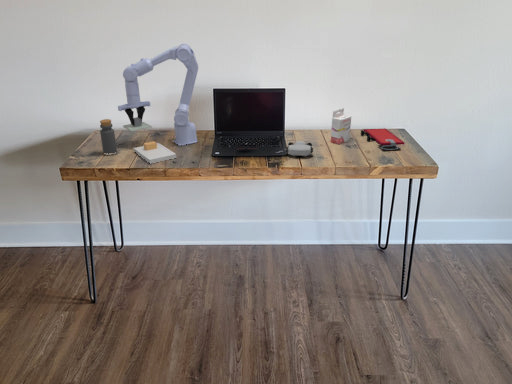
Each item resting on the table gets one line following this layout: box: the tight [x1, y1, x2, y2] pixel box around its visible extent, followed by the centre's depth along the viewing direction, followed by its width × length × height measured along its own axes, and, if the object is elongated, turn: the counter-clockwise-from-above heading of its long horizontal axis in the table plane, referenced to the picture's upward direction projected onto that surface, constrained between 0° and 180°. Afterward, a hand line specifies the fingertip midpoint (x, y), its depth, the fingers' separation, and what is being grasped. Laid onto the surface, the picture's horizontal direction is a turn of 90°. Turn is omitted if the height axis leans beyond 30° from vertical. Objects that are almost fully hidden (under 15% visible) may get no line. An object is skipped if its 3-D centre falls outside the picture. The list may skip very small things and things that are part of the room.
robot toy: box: [284, 140, 315, 157], centre depth 212 cm, size 12×4×15 cm
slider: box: [142, 140, 158, 150], centre depth 214 cm, size 3×5×2 cm, turn 125°
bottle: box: [99, 118, 118, 154], centre depth 212 cm, size 6×6×15 cm
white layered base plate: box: [132, 142, 177, 165], centre depth 212 cm, size 18×12×2 cm, turn 34°
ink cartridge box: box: [330, 107, 352, 145], centre depth 224 cm, size 9×5×15 cm, turn 135°
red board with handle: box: [360, 128, 405, 151], centre depth 227 cm, size 30×3×15 cm
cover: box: [122, 116, 153, 132], centre depth 221 cm, size 10×10×4 cm
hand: (136, 123), depth 222 cm, fingers closed on cover, 3 cm apart
